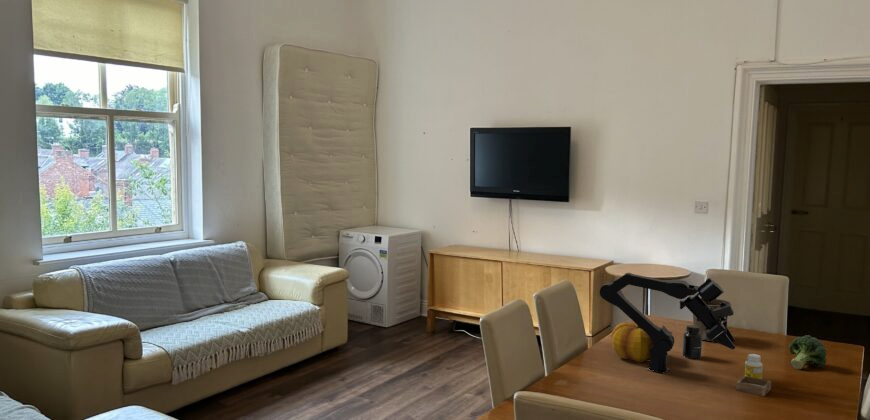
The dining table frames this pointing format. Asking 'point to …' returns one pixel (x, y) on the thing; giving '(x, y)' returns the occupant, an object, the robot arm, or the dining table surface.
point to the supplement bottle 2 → (753, 366)
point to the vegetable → (807, 352)
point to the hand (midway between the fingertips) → (734, 345)
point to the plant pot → (703, 331)
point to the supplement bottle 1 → (692, 342)
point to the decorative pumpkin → (631, 342)
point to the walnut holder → (753, 385)
